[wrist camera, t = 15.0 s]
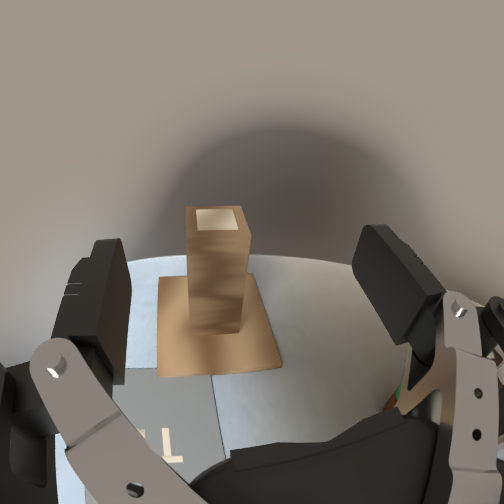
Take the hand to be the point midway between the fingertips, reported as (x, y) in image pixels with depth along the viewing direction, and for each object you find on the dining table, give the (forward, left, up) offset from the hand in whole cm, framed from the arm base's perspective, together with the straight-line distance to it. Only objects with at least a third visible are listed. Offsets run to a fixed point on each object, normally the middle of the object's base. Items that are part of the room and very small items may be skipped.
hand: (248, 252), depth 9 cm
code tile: (+6, 0, -20) cm, 21 cm away
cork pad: (-1, -14, -20) cm, 24 cm away
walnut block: (-1, -14, -19) cm, 24 cm away
